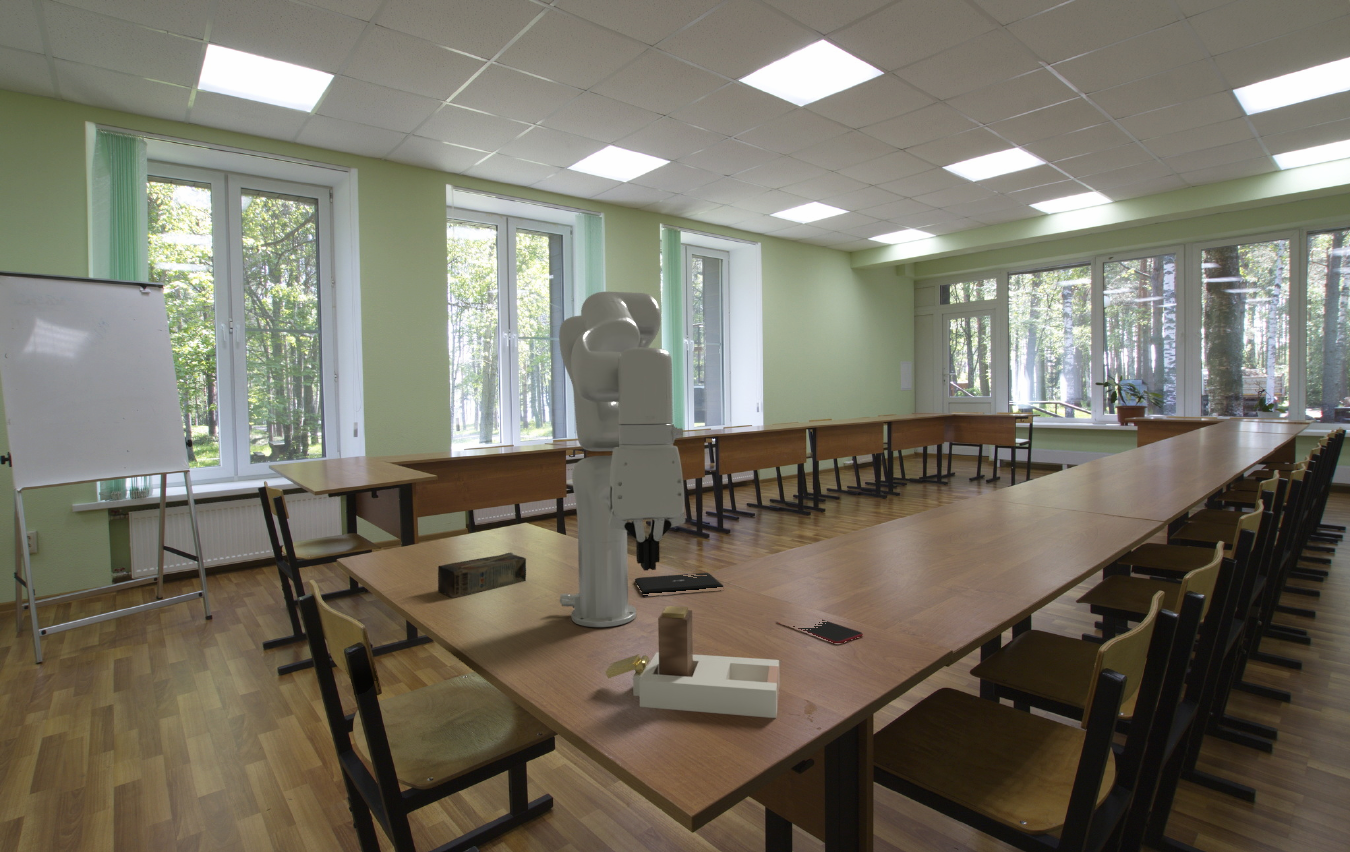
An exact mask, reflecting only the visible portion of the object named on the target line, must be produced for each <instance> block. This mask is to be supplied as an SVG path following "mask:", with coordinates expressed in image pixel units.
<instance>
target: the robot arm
mask: <svg viewBox="0 0 1350 852" xmlns="http://www.w3.org/2000/svg"><path fill="white" fill-rule="evenodd" d="M661 320H662V317H661V309H660V305H659V304H658V302H657V300H656V299H655V298H654V297H653V296H652V295H650V294H648V293H645V292H627V291H625V292H624V291H599V292H595V293H593V294H591V295H589V296H588V297H587V298H586V299H585V300H584V301H583V303H582V305H581V310H580V315H574V316H570V317H568V318H566V319H564V320H563V321H562V323H561V324H560V327H559V330H558V333H559V334H558V335H559V336H558V340H559V341H558V343H559V349H560V355H561V358H562V361H563V364H564V366H565V369H566V372H567V375H568V377H569V379H570V381H571V384H572V390H573V401H574V402H573V403H574V415H575V418H574V419H575V428H576V436H577V442H578V444H579V446H580V448H582V449H583V450H586V451H590V452H612V453H611V454H612V455H594V456H589V457H585V458H582V459H580V460H578V461H577V462H576V464H575V465H574V466H573V468H572V472H571V481H572V488H573V494H574V500H575V508H576V519H577V543H578V544H577V546H578V548H577V551H578V552H577V553H578V555H577V556H578V592H577V593H575V594H571V593H561V594H560V596H559V602H560V604H561V607H567V608H568V607H572V608H573V609H572V611H571V613H570V614H571V621H572V622H573V623H575V624H577V625H579V626H582V627H588V628H607V627H608V628H610V627H617V626H621V625H625V624H627V623H630V622H631V621H633V620H634V619H635V618H636V617H637V609H636V607H634V606H633V605H631V604H629V588H628V587H629V586H628V585H629V582H628V581H629V580H628V574H629V573H628V572H629V571H628V533H629V535H631V536H632V537H633V538H634V539H635V542H636V543H635V546H636V547H635V548H636V549H635V550H636V563H637V564H640V566H641V568H642V569H643V571H644V572H645V571H646V572H647V571H649V570H651V571H656V570H657V563H660V541H661V540H662V539H663V536H664V535H665V534H666V533H667V532H668V530H670V529H671V528H673V527H677V526H682V525H684V524H685V523H686V517H685V514H684V513H685V512H684V511H685V489H684V488H685V487H684V479H683V478H684V477H683V469H682V463H681V457H680V451H679V448H678V446H676V445H674V443H675V440H676V439H679V438H681V439H682V438H683V436H684V430H683V428H678V427H676V426H675V424H674V423H673V422H674V419H673V418H674V415H673V413H674V412H673V410H674V409H673V362H672V356H671V354H670V353H669V351H667V350H666V349H664V348H659V347H650V346H651V344H652V343H653V341H655V339H656V337H657V335H658V334H659V330H660V328H661ZM643 520H650V521H651V522H650V529H649V533H648V537H647V536H646V534H645V527H644V526H645V525H644V521H643Z"/></svg>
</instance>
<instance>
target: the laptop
mask: <svg viewBox="0 0 1350 852" xmlns="http://www.w3.org/2000/svg"><path fill="white" fill-rule="evenodd" d="M688 574H689V573H684V574H673V575H669V574H668V575H659V576H658V575H656V576H655V575H654V576H645V577H644V576H643V577H641V576H640V577H637V578H634V583H635V582H636V583H637V585H638V586H639V588H640V590H641V591H642V594H649V593H662V592H676V591H686V590H699V589H706V588H717V587H723V588H724V585H723V584H722V583H721V581H719V580H717V579H716V578H715V577H714V576H713V575H712V574H710V573H708V572H701V573H697V572H696V573H695V574H696V575H707V576H694V575H691V576H693V577H697V578H693V577H688V576H683V575H688ZM642 594H641V595H642ZM643 596H648V595H643ZM643 596H642V597H643Z"/></svg>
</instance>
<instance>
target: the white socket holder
mask: <svg viewBox="0 0 1350 852" xmlns="http://www.w3.org/2000/svg"><path fill="white" fill-rule="evenodd" d="M632 682H633V683H632V685H633V687H632V688H633V689H632V691H633V692H632V693H633V696H634V697H639V707H640V708H648V709H649V708H650V709H662V710H673V711H676V710H677V711H687V712H699V713H700V712H701V713H711V714H723V715H734V716H735V715H737V716H747V717H757V718H758V717H761V718H770V719H777V717H778V716H777V715H778V704H779V691H780V660H779V659H771V658H770V659H768V658H754V657H753V658H751V657H737V656H722V655H706V654H694V653H693V676H692V677H685V676H671V675H659V651H655V653H654V656H653V657H652V659H651V661H649V663H648V664H647V666H646V667H645V669H644V671H643V672H642V673H641V674H638V673H636V672H634V673H633V675H632Z"/></svg>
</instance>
